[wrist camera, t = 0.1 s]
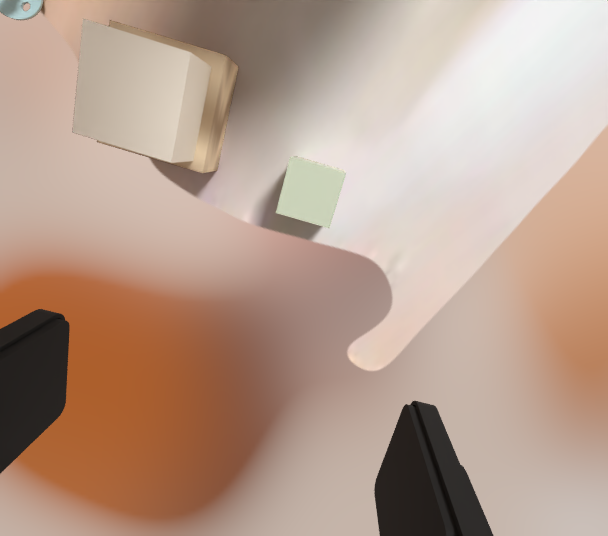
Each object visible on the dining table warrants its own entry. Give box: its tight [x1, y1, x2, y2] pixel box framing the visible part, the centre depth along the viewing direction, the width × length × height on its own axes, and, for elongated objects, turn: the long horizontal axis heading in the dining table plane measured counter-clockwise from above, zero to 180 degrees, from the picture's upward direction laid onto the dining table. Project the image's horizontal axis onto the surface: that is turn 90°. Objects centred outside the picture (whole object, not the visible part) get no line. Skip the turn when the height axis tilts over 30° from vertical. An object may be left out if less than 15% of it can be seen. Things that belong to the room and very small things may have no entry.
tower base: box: [97, 20, 238, 173], centre depth 35 cm, size 10×10×5 cm
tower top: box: [72, 19, 212, 163], centre depth 31 cm, size 8×8×5 cm
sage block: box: [276, 156, 346, 228], centre depth 36 cm, size 5×5×6 cm
